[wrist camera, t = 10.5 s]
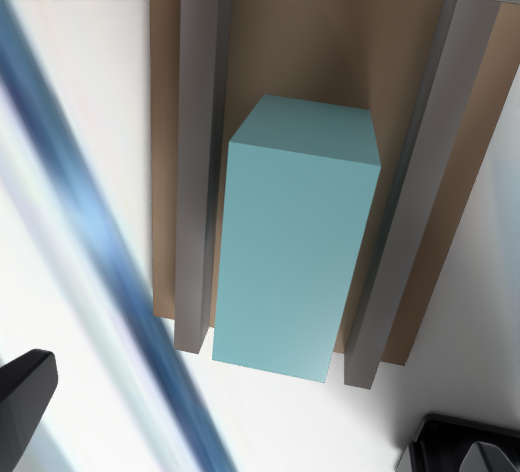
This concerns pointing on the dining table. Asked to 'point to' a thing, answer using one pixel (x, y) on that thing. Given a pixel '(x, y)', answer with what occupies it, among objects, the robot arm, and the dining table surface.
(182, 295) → the rail board
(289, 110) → the teal rectangular block
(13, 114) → the dining table surface
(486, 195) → the dining table surface
